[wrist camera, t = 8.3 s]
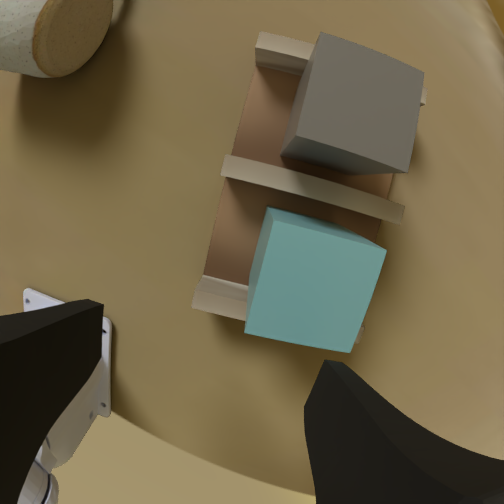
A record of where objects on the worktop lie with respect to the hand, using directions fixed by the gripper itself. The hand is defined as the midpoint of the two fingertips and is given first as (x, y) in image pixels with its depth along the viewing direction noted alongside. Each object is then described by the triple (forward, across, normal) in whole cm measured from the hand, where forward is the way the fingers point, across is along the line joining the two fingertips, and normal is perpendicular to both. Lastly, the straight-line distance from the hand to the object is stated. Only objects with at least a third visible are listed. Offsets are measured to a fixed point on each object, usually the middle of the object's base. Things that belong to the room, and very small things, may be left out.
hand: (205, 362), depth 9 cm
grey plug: (+9, -3, -9) cm, 13 cm away
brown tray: (+9, -3, -6) cm, 12 cm away
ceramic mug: (+10, +16, -15) cm, 24 cm away
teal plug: (+9, -3, -2) cm, 9 cm away
